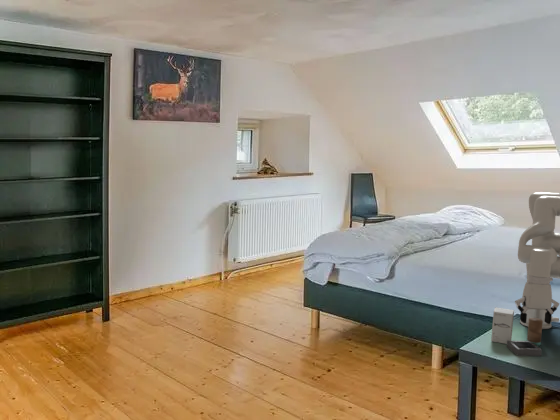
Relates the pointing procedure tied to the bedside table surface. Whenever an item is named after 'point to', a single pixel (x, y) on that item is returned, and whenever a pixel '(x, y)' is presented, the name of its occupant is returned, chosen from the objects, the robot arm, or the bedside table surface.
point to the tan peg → (535, 331)
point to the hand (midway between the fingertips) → (535, 322)
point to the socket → (524, 348)
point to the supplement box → (502, 325)
